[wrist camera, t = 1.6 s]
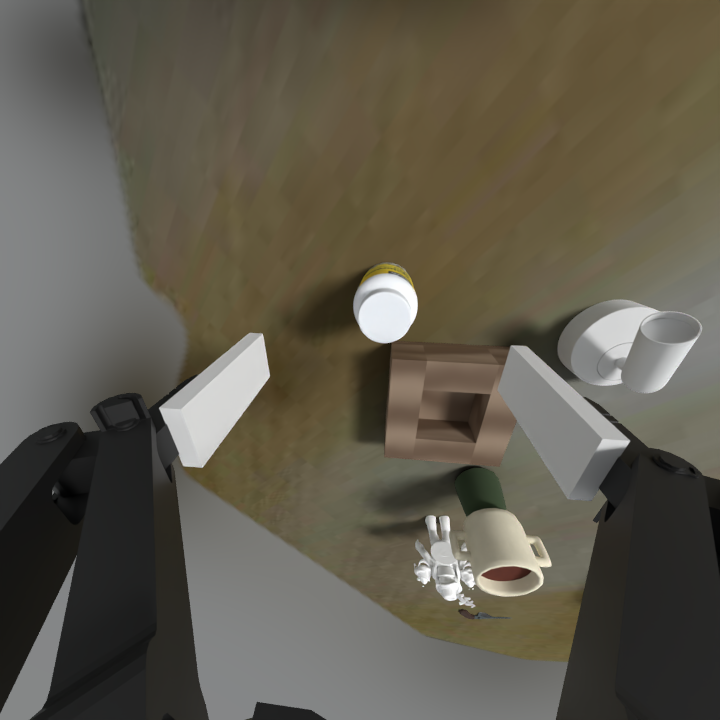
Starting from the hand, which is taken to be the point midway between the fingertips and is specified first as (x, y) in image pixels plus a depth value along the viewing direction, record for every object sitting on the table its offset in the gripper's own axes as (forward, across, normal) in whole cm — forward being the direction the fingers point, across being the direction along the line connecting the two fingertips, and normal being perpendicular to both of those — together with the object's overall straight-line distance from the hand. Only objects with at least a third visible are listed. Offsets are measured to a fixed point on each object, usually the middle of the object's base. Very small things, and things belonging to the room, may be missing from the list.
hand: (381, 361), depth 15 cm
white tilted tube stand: (+16, +23, -4) cm, 28 cm away
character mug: (+16, +15, -28) cm, 35 cm away
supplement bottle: (+16, 0, 0) cm, 16 cm away
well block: (+16, +8, -13) cm, 22 cm away
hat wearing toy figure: (+16, +11, -39) cm, 43 cm away
